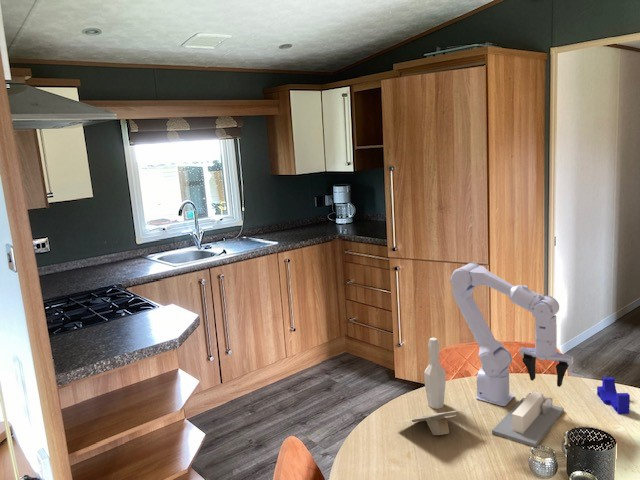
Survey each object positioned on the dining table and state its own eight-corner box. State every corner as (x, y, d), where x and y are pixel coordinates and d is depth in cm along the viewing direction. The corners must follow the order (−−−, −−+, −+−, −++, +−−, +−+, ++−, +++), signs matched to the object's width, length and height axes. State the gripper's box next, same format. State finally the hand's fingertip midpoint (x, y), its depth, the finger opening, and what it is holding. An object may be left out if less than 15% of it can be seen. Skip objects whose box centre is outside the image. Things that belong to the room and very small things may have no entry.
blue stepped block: (597, 395, 164) (597, 377, 163) (612, 395, 163) (612, 377, 162) (612, 414, 152) (613, 395, 151) (629, 414, 151) (629, 395, 150)
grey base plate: (492, 433, 147) (491, 420, 146) (523, 400, 164) (523, 388, 163) (535, 447, 139) (535, 433, 138) (563, 411, 156) (563, 398, 155)
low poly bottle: (440, 411, 161) (437, 344, 157) (422, 406, 165) (418, 340, 161) (450, 403, 166) (447, 337, 162) (432, 398, 170) (429, 334, 166)
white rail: (512, 430, 146) (511, 413, 145) (533, 406, 158) (532, 391, 157) (522, 433, 144) (522, 416, 143) (543, 409, 156) (543, 393, 155)
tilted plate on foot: (402, 452, 148) (431, 436, 138) (392, 422, 153) (419, 404, 142) (446, 442, 156) (477, 426, 146) (435, 413, 161) (464, 396, 150)
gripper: (515, 338, 154) (516, 381, 156) (567, 348, 144) (567, 393, 147) (524, 331, 159) (525, 372, 162) (575, 339, 150) (575, 384, 152)
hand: (546, 382), depth 154 cm, fingers open, 7 cm apart
